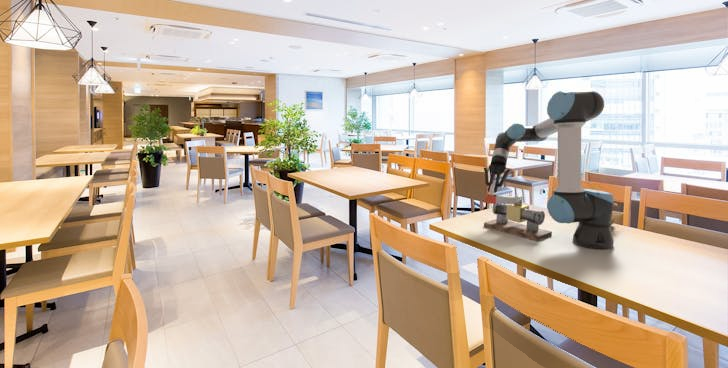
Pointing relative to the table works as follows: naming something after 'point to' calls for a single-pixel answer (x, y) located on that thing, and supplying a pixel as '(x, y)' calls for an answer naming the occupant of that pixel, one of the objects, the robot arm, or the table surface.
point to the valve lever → (503, 199)
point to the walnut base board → (518, 230)
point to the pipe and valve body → (518, 215)
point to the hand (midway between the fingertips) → (490, 197)
